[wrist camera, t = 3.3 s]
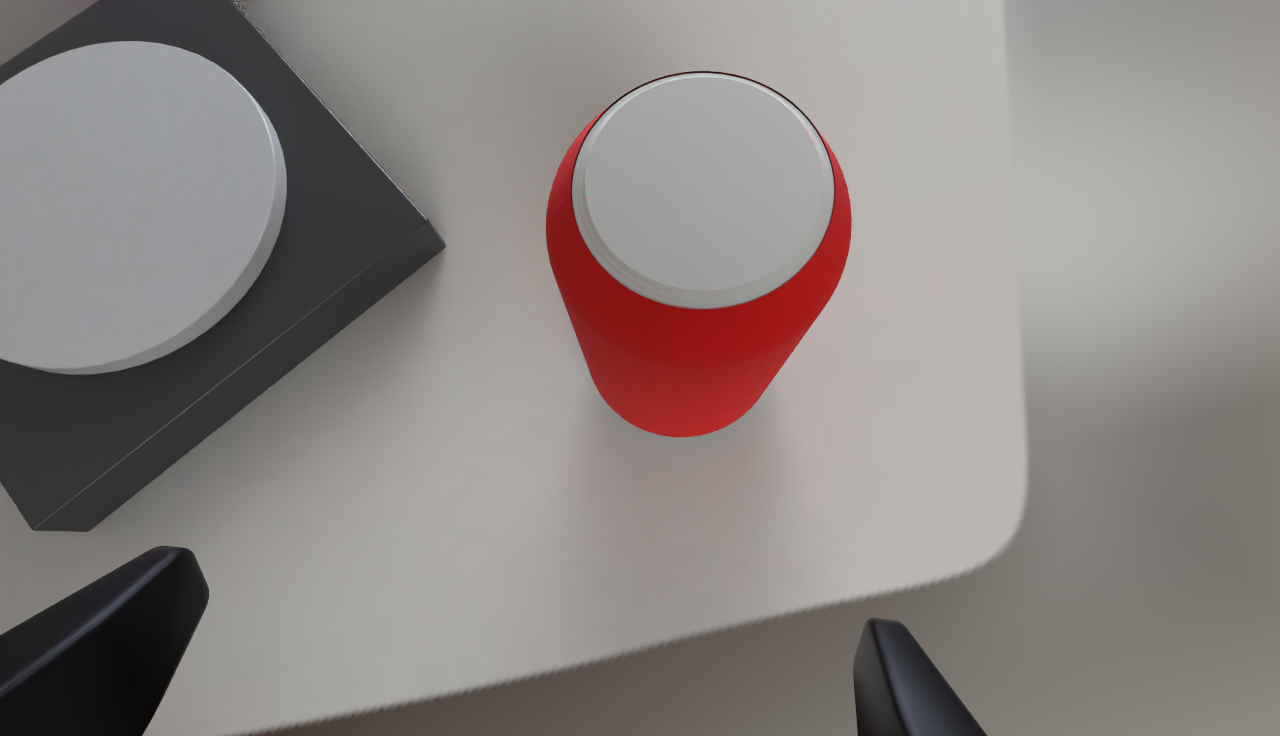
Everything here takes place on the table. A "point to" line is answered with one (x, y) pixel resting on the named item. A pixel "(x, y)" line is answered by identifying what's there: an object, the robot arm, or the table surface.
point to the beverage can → (695, 245)
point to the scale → (169, 244)
